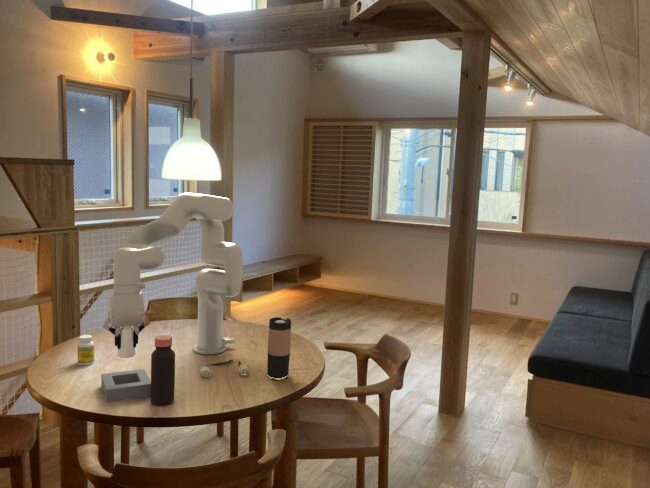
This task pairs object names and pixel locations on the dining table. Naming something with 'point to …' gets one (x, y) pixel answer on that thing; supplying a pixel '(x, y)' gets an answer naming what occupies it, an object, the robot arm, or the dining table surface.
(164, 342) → the dark brown water bottle
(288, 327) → the travel mug
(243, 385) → the dining table surface
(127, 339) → the pepper shaker
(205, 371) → the cable
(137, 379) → the frame
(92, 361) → the supplement bottle
